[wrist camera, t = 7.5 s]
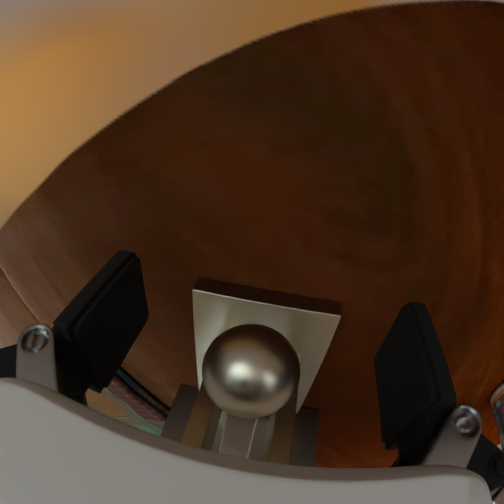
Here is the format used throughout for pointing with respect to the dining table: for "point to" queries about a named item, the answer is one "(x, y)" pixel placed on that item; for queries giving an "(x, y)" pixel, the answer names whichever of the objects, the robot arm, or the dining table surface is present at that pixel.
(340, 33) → the dining table surface
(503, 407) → the pill bottle
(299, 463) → the toaster
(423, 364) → the robot arm
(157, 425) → the dish towel
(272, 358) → the lever
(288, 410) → the bracket
